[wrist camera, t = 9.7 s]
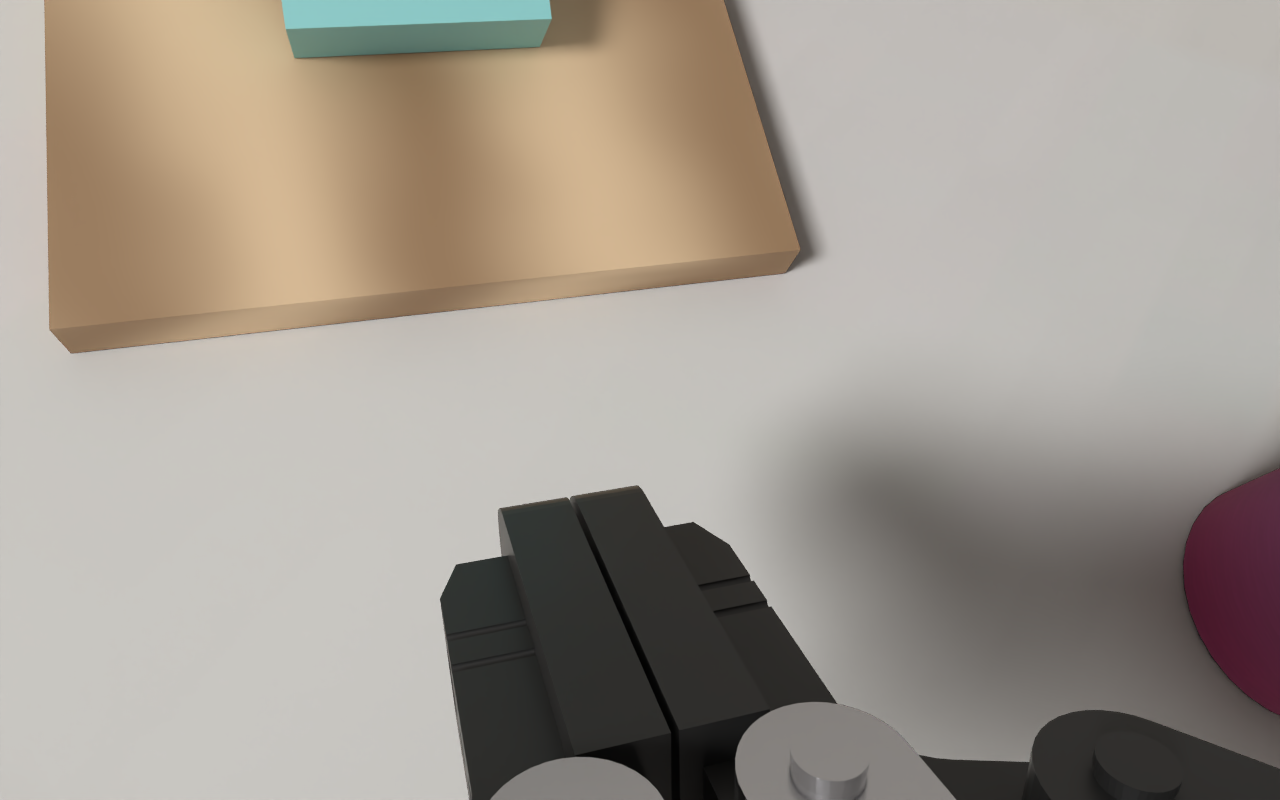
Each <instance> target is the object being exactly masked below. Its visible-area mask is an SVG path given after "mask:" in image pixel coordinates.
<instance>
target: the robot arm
mask: <svg viewBox="0 0 1280 800" xmlns="http://www.w3.org/2000/svg"><path fill="white" fill-rule="evenodd" d="M498 522H499V534H500V544H501V554H502V557H496V558H491V559H485V560H480V561H474V562H468V563H463V564H457V565H456V566H455V568H454V570H453V572H452V575H451V577H450V579H449V581H448V583H447V585H446V587H445V589H444V592H443V594H442V596H441V598H440V602H441V609H442V617H443V624H444V631H445V639H446V646H447V653H448V661H449V668H450V675H451V683H452V690H453V697H454V705H455V712H456V719H457V725H458V732H459V738H460V744H461V750H462V756H463V763H464V769H465V776H466V782H467V788H468V794H469V800H1280V769H1278V768H1276V767H1273V766H1270V765H1267V764H1265V763H1262V762H1259V761H1257V760H1254V759H1251V758H1249V757H1246V756H1243V755H1241V754H1238V753H1235V752H1233V751H1230V750H1227V749H1225V748H1222V747H1219V746H1217V745H1214V744H1211V743H1209V742H1206V741H1203V740H1201V739H1198V738H1195V737H1193V736H1190V735H1187V734H1185V733H1182V732H1179V731H1177V730H1174V729H1171V728H1169V727H1166V726H1163V725H1161V724H1158V723H1155V722H1152V721H1150V720H1146V719H1143V718H1140V717H1137V716H1134V715H1129V714H1125V713H1120V712H1113V711H1104V710H1085V711H1078V712H1072V713H1068V714H1065V715H1062V716H1059V717H1057V718H1055V719H1054V720H1052V721H1050V722H1048V723H1047V724H1046V725H1045V726H1044V727H1043V728H1042V729H1041V730H1040V731H1039V733H1038V735H1037V736H1036V738H1035V741H1034V744H1033V748H1032V752H1031V757H1030V762H1006V761H976V760H950V759H939V758H932V757H927V756H922V755H918V754H917V753H916V752H915V750H914V749H913V748H912V747H911V746H910V745H909V743H908V742H907V741H906V740H905V739H904V738H903V737H902V736H901V735H900V734H899V733H898V732H897V731H895V730H894V729H893V728H892V727H890V726H889V725H888V724H886V723H885V722H883V721H881V720H880V719H878V718H876V717H874V716H873V715H870V714H868V713H866V712H863V711H861V710H858V709H855V708H852V707H848V706H845V705H840V704H837V703H836V701H835V700H834V698H833V697H832V695H831V694H830V692H829V691H828V689H827V688H826V686H825V685H824V683H823V682H822V681H821V679H820V678H819V676H818V675H817V673H816V672H815V670H814V669H813V667H812V666H811V664H810V663H809V661H808V660H807V658H806V657H805V655H804V654H803V653H802V651H801V650H800V648H799V647H798V645H797V644H796V642H795V641H794V639H793V638H792V636H791V635H790V633H789V632H788V630H787V629H786V628H785V626H784V625H783V623H782V622H781V620H780V619H779V617H778V616H777V614H776V613H775V611H774V610H773V608H772V607H768V605H767V600H766V598H765V597H764V595H763V594H762V592H761V591H760V589H759V588H758V586H757V585H756V583H755V582H754V581H751V580H750V575H749V573H748V572H747V570H746V569H745V567H744V566H743V564H742V563H741V561H740V560H739V558H738V557H737V555H736V554H735V552H734V551H733V549H732V548H731V547H730V545H729V544H727V543H726V542H724V541H723V540H721V539H719V538H718V537H716V536H715V535H713V534H712V533H710V532H708V531H707V530H705V529H704V528H702V527H700V526H699V525H697V524H696V523H694V522H691V523H685V524H680V525H674V526H669V527H664V526H663V525H662V523H661V521H660V519H659V518H658V516H657V514H656V513H655V511H654V509H653V507H652V506H651V504H650V502H649V501H648V499H647V497H646V495H645V494H644V492H643V491H642V489H641V488H640V487H639V486H637V485H636V486H630V487H624V488H618V489H612V490H606V491H600V492H594V493H588V494H582V495H576V496H572V497H571V498H570V501H569V499H568V498H566V497H565V498H559V499H553V500H547V501H541V502H535V503H529V504H523V505H517V506H511V507H505V508H499V510H498Z"/></svg>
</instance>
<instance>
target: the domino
mask: <svg viewBox="0 0 1280 800" xmlns="http://www.w3.org/2000/svg"><path fill="white" fill-rule="evenodd" d="M281 1H282V8H283V15H284V22H285V29H286V32H287V35H288V39H289V42H290V45H291V49H292V52H293V55H294V58H309V57H332V56H354V55H376V54H398V53H420V52H442V51H464V50H486V49H508V48H530V47H540V45H541V43H542V41H543V38H544V36H545V34H546V31H547V29H548V27H549V24H550V22H551V20H552V17H551V9H550V2H549V0H281Z"/></svg>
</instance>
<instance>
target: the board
mask: <svg viewBox="0 0 1280 800" xmlns="http://www.w3.org/2000/svg"><path fill="white" fill-rule="evenodd" d="M549 2H550V9H551V17H552V20H551V22H550V24H549V27H548V29H547V31H546V34H545V36H544V38H543V41H542V43H541V45H540V47H530V48H508V49H486V50H464V51H442V52H420V53H398V54H376V55H354V56H332V57H309V58H294V55H293V52H292V49H291V45H290V42H289V39H288V35H287V32H286V29H285V22H284V15H283V8H282V1H281V0H44V5H45V71H46V136H47V201H48V267H49V330H50V331H51V332H52V333H53V334H54V335H55V336H56V337H57V338H58V340H59V341H60V342H61V343H62V344H63V345H64V346H65V347H66V348H67V350H68V351H69V352H70V353H78V352H87V351H96V350H105V349H114V348H123V347H131V346H140V345H149V344H158V343H167V342H176V341H185V340H194V339H203V338H212V337H220V336H229V335H238V334H247V333H256V332H265V331H274V330H283V329H292V328H301V327H309V326H318V325H327V324H336V323H345V322H354V321H363V320H372V319H381V318H390V317H399V316H407V315H416V314H425V313H434V312H443V311H452V310H461V309H470V308H479V307H488V306H496V305H505V304H514V303H523V302H532V301H541V300H550V299H559V298H568V297H577V296H585V295H594V294H603V293H612V292H621V291H630V290H639V289H648V288H657V287H666V286H674V285H683V284H692V283H701V282H710V281H719V280H728V279H737V278H746V277H755V276H764V275H772V274H781V273H785V272H786V271H787V269H788V268H789V266H790V265H791V263H792V262H793V260H794V259H795V257H796V256H797V254H798V253H799V252H800V250H801V249H800V246H799V243H798V240H797V236H796V233H795V230H794V227H793V223H792V220H791V217H790V214H789V210H788V207H787V204H786V201H785V197H784V194H783V191H782V188H781V184H780V181H779V178H778V175H777V171H776V168H775V165H774V162H773V158H772V155H771V152H770V149H769V145H768V142H767V139H766V136H765V132H764V129H763V126H762V123H761V119H760V116H759V113H758V110H757V106H756V103H755V100H754V97H753V93H752V90H751V87H750V84H749V81H748V77H747V74H746V71H745V68H744V64H743V61H742V58H741V55H740V51H739V48H738V45H737V42H736V38H735V35H734V32H733V29H732V25H731V22H730V19H729V16H728V12H727V9H726V6H725V3H724V0H549Z"/></svg>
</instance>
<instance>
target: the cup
mask: <svg viewBox="0 0 1280 800" xmlns="http://www.w3.org/2000/svg"><path fill="white" fill-rule="evenodd" d="M1183 568H1184V587H1185V591H1186V596H1187V600H1188V605H1189V609H1190V612H1191V615H1192V617H1193V620H1194V622H1195V625H1196V628H1197V630H1198V633H1199V635H1200V637H1201V638H1202V640H1203V642H1204V644H1205V645H1206V647H1207V649H1208V650H1209V652H1210V654H1211V656H1212V657H1213V659H1214V660H1215V661H1216V662H1217V664H1218V665H1219V666H1220V667H1221V669H1222V670H1223V671H1224V673H1225V674H1226V675H1227V676H1228V678H1229V679H1230V680H1231V681H1232V682H1234V683H1235V684H1236V685H1237V686H1238V687H1239V688H1240V689H1241V690H1242V691H1243V692H1244V693H1245V694H1246V695H1247V696H1249V697H1250V698H1252V699H1253V700H1255V701H1256V702H1258V703H1259V704H1260V705H1262V706H1263V707H1265V708H1266V709H1268V710H1269V711H1271V712H1274V713H1276V714H1278V715H1280V468H1279V469H1276V470H1274V471H1272V472H1270V473H1268V474H1265V475H1263V476H1261V477H1259V478H1257V479H1254V480H1252V481H1250V482H1248V483H1246V484H1243V485H1241V486H1239V487H1237V488H1235V489H1232V490H1230V491H1228V492H1226V493H1224V494H1222V495H1220V496H1218V497H1217V498H1215V499H1214V500H1213V501H1212V502H1211V503H1210V504H1208V505H1207V506H1206V507H1205V508H1204V509H1203V511H1202V512H1201V513H1200V515H1199V516H1198V518H1197V519H1196V521H1195V522H1194V524H1193V526H1192V529H1191V531H1190V534H1189V537H1188V539H1187V542H1186V548H1185V555H1184V562H1183Z"/></svg>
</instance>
